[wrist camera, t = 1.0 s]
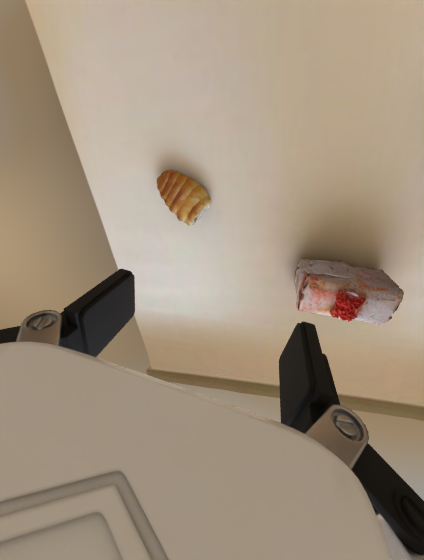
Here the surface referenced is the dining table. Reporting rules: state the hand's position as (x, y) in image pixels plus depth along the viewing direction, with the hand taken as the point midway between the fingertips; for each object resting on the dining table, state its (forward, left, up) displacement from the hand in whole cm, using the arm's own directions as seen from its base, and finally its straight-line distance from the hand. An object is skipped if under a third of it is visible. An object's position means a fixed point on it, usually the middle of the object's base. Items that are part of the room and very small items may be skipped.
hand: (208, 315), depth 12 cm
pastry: (0, -11, -28) cm, 31 cm away
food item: (+8, +17, -28) cm, 34 cm away
